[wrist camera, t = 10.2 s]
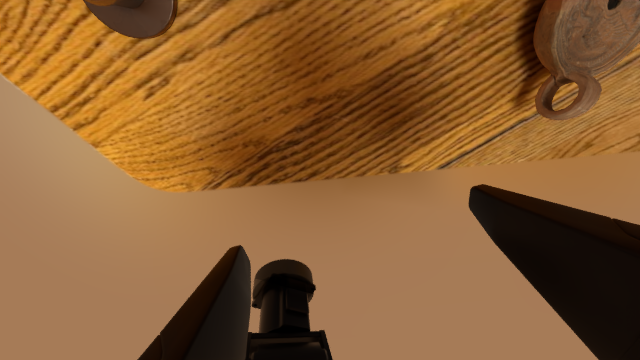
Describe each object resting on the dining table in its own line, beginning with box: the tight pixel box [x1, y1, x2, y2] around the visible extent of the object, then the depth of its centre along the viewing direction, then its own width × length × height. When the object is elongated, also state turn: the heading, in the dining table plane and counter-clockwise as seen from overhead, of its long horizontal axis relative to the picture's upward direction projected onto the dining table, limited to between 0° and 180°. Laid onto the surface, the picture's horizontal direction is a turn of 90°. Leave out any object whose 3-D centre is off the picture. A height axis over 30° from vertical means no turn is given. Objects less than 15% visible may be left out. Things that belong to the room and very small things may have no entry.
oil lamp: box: [533, 0, 640, 120], centre depth 16 cm, size 13×8×5 cm, turn 167°
